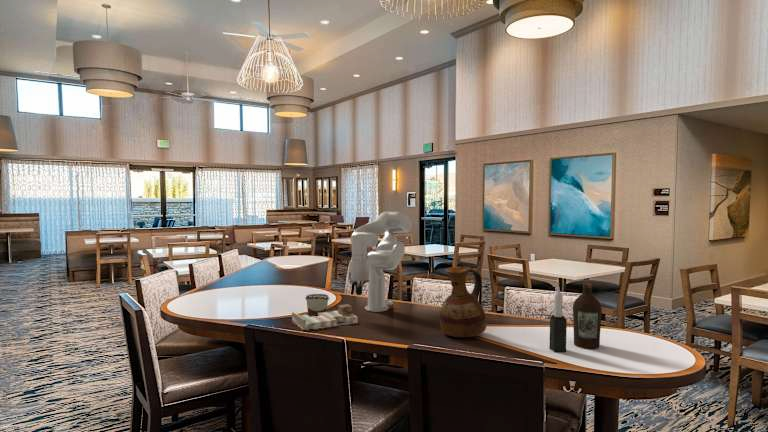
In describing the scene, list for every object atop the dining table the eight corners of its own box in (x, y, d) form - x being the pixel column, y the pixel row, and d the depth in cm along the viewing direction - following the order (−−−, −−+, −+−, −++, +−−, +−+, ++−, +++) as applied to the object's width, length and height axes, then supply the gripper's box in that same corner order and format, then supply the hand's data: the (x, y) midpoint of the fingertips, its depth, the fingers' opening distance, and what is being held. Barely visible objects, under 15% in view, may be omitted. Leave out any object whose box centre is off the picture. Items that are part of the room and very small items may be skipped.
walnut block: (347, 312, 214) (347, 304, 214) (351, 314, 210) (351, 306, 210) (338, 313, 211) (338, 305, 211) (342, 315, 207) (342, 307, 207)
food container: (331, 312, 224) (331, 293, 224) (328, 315, 218) (328, 296, 218) (308, 312, 225) (308, 293, 225) (305, 315, 219) (305, 295, 219)
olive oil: (571, 340, 181) (572, 281, 180) (599, 343, 177) (600, 282, 176) (572, 347, 171) (573, 285, 170) (602, 351, 167) (603, 287, 166)
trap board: (343, 315, 219) (343, 305, 219) (357, 322, 205) (357, 312, 205) (292, 322, 205) (292, 312, 205) (303, 331, 192) (303, 319, 192)
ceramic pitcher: (431, 331, 193) (432, 264, 192) (469, 326, 201) (469, 262, 200) (455, 344, 175) (456, 271, 174) (495, 338, 183) (496, 268, 182)
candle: (548, 348, 170) (549, 285, 169) (560, 347, 171) (561, 285, 170) (554, 352, 165) (555, 288, 164) (567, 352, 165) (568, 287, 165)
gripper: (368, 256, 221) (368, 292, 221) (342, 257, 213) (341, 294, 213) (376, 258, 214) (375, 294, 214) (349, 259, 207) (348, 297, 207)
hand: (358, 294), depth 214 cm, fingers closed
